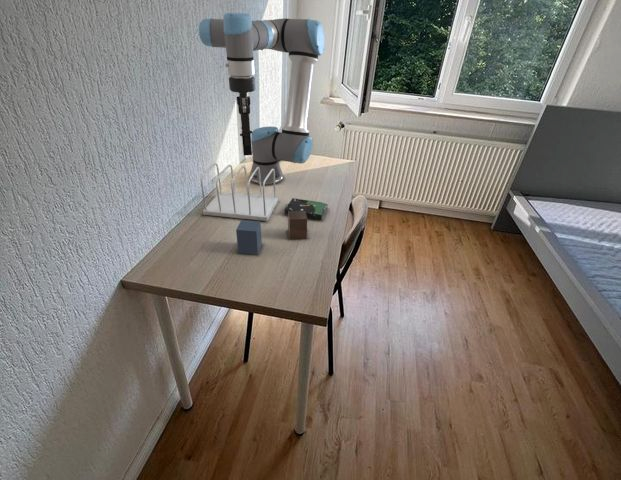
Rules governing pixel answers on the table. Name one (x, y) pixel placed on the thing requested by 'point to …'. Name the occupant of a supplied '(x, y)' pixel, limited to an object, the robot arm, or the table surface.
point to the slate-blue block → (249, 237)
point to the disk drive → (307, 208)
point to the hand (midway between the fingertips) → (247, 154)
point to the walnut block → (297, 225)
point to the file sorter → (240, 199)
